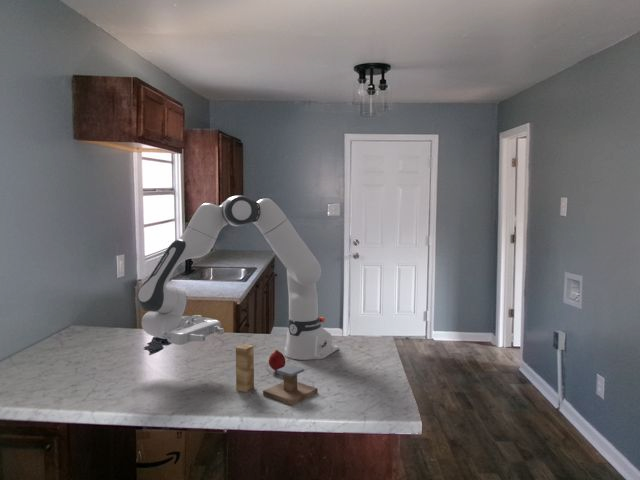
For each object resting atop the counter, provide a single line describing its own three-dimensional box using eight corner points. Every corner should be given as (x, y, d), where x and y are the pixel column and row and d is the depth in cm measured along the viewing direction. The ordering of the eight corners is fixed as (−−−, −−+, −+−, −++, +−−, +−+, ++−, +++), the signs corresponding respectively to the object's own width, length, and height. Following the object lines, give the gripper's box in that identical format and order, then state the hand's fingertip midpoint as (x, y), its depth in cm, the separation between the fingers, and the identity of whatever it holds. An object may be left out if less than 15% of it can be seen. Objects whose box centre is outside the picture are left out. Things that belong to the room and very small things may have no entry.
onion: (288, 369, 187) (287, 347, 186) (281, 375, 181) (281, 352, 180) (272, 367, 189) (272, 345, 188) (266, 373, 183) (265, 350, 182)
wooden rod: (243, 385, 172) (243, 343, 170) (254, 388, 170) (253, 345, 168) (236, 390, 168) (235, 347, 167) (246, 392, 166) (245, 349, 165)
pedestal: (289, 383, 173) (288, 360, 173) (317, 392, 166) (317, 368, 165) (263, 395, 164) (262, 370, 163) (292, 405, 157) (291, 379, 156)
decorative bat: (174, 323, 233) (194, 327, 230) (174, 332, 234) (193, 336, 231) (129, 342, 205) (150, 347, 202) (128, 352, 206) (150, 357, 203)
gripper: (158, 326, 170) (191, 333, 164) (201, 313, 188) (232, 319, 181) (158, 345, 171) (191, 352, 164) (201, 331, 189) (232, 337, 182)
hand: (213, 335), depth 173 cm, fingers open, 8 cm apart
